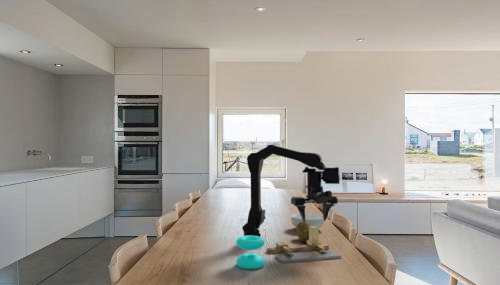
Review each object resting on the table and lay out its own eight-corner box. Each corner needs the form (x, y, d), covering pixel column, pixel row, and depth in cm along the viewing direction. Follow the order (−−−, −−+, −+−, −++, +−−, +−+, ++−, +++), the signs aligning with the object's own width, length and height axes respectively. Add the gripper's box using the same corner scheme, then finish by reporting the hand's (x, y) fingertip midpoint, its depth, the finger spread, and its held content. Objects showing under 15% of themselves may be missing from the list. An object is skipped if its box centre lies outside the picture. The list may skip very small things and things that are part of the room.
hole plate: (282, 263, 139) (282, 260, 139) (275, 256, 146) (275, 253, 146) (341, 258, 145) (341, 255, 145) (331, 252, 153) (331, 249, 153)
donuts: (236, 241, 131) (236, 234, 141) (236, 270, 130) (236, 261, 140) (265, 241, 131) (263, 234, 141) (265, 270, 131) (263, 261, 141)
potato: (295, 244, 165) (295, 225, 165) (296, 237, 178) (296, 220, 178) (315, 244, 164) (315, 226, 164) (314, 237, 177) (314, 220, 177)
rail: (275, 259, 143) (275, 250, 143) (266, 251, 154) (266, 243, 154) (338, 254, 149) (338, 246, 150) (324, 246, 161) (324, 239, 161)
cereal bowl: (324, 234, 183) (324, 219, 183) (289, 233, 186) (289, 218, 186) (324, 227, 200) (324, 213, 200) (292, 225, 203) (292, 212, 203)
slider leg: (319, 252, 147) (319, 232, 147) (306, 244, 159) (306, 225, 159) (328, 252, 148) (328, 231, 148) (315, 244, 160) (315, 225, 160)
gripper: (300, 186, 147) (300, 226, 147) (344, 184, 152) (344, 223, 152) (290, 183, 158) (290, 221, 158) (331, 182, 163) (331, 218, 163)
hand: (314, 221), depth 157 cm, fingers open, 9 cm apart
